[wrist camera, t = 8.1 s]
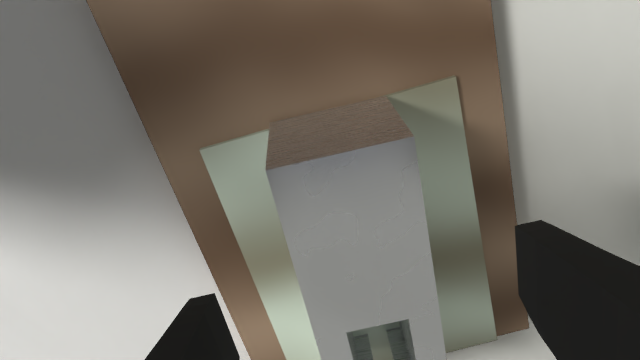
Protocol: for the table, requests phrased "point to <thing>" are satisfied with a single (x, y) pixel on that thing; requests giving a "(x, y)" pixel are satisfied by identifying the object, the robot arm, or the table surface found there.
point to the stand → (312, 96)
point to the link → (357, 228)
